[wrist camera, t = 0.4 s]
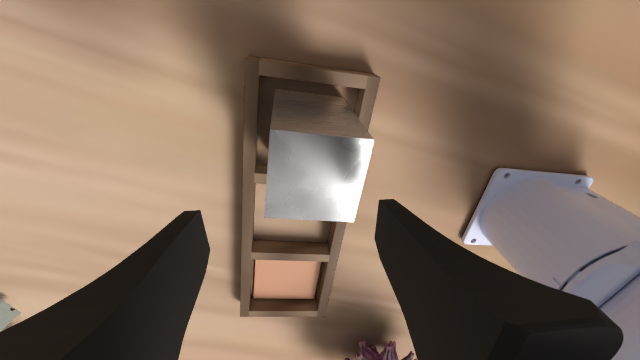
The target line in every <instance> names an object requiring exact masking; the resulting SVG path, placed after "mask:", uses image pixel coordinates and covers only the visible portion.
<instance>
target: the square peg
mask: <svg viewBox="0 0 640 360" xmlns="http://www.w3.org/2000/svg"><path fill="white" fill-rule="evenodd" d="M373 143H374V139H373V138H372V136H371V135H370V133H369V132H368V131H367V129H366V128H365V127H364V125H363V124H362V123H361V121H360V120H359V119H358V117H357V116H356V115H355V113H354V112H353V111H352V109H351V108H350V107H349V105H348V104H347V102H346V101H345V100H344V98H343V97H336V96H328V95H320V94H312V93H304V92H296V91H288V90H280V89H275V94H274V102H273V110H272V118H271V125H270V137H269V152H268V168H267V184H266V199H265V215H264V218H280V219H299V220H319V221H338V222H354V219H355V215H356V211H357V207H358V203H359V199H360V195H361V191H362V187H363V183H364V179H365V175H366V171H367V167H368V163H369V159H370V155H371V151H372V147H373Z"/></svg>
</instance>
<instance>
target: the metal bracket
mask: <svg viewBox="0 0 640 360" xmlns="http://www.w3.org/2000/svg"><path fill="white" fill-rule="evenodd" d="M11 307H12V306H10V305H9V304H8V303H6V302H5V301H3V300H2V299H0V332H1V331H2V330H3V329H4V328H5V327H6V326H7V325H8V324H9V323H10V322H12V321H13V320H14V319H15V318H16V317H17V316H18V315H19V314H20V313H21V312H19V311H18V310H16V309H14V310H13V311H11V310H10V308H11Z"/></svg>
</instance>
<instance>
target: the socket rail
mask: <svg viewBox="0 0 640 360" xmlns="http://www.w3.org/2000/svg"><path fill="white" fill-rule="evenodd" d="M260 75H261V76H269V77H277V78H284V79H292V80H299V81H307V82H315V83H322V84H330V85H338V86H345V87H353V88H359V91H358V96H357V101H356V106H355V111H354V113H355V115H356V116H357V117H358V119H359V120H360V121H361V123H362V124H363V125H364V127H365V128H366V129H367V131H368V128H369V124H370V120H371V116H372V111H373V107H374V103H375V99H376V94H377V90H378V86H379V81H380V77H379V76H377V75H375V74H373V73H366V72H359V71H352V70H345V69H338V68H331V67H323V66H316V65H309V64H302V63H295V62H288V61H281V60H274V59H267V58H260V57H252V56H247V57H246V58H245V85H244V138H243V191H242V244H241V297H240V317H310V316H325V312H326V308H327V304H328V300H329V295H330V291H331V287H332V282H333V278H334V274H335V270H336V265H337V261H338V257H339V252H340V248H341V244H342V240H343V235H344V231H345V227H346V223H347V222H338V221H332V224H331V229H330V234H329V238H328V243H311V242H286V241H261V240H253V231H254V208H255V185H256V183H260V184H267V168H268V165H265V164H256V162H257V139H258V116H259V93H260ZM252 260H255V279H254V298H251V277H252ZM321 262H324V263H323V268H322V273H321V278H320V283H319V288H318V293H317V297H316V298H314V297H315V292H316V287H317V282H318V277H319V272H320V266H321Z"/></svg>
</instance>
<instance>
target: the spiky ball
mask: <svg viewBox="0 0 640 360" xmlns="http://www.w3.org/2000/svg"><path fill="white" fill-rule="evenodd" d="M358 345H359V349H360V352H359V353H357V354H356V359H357V360H398V356H397V353H396V349H395V347H396V342H395V341H394V342H392V341H390V343H389V344H388V343H387V344H385V348H384V350H383V351H382V352H381V353H380V354H379V353H378V352H377V350H376V348H375V346H374V345H373V346H370V348H369V347H368V346H367V344H366V342H365V340H362V342H359V343H358ZM413 356H414V353H412V351H410V353H409V354H408V356H406V357H404V358H403V359H402V360H412V358H413ZM345 360H350V359H349V358H345ZM414 360H417V359H414Z"/></svg>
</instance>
